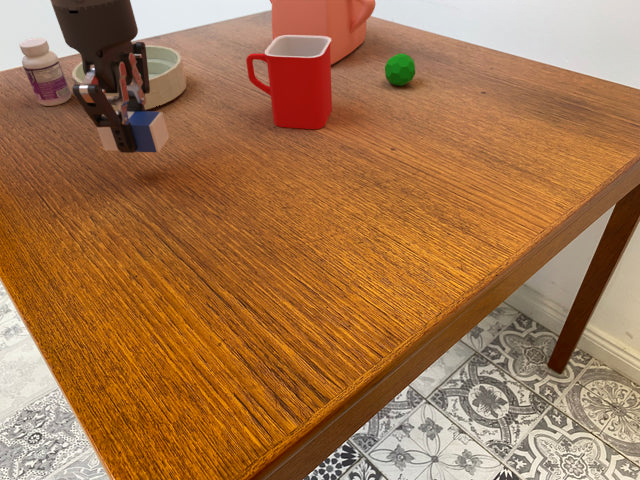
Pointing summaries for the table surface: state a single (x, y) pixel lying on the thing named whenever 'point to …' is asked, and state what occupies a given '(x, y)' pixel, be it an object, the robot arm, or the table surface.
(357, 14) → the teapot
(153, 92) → the bowl
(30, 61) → the pill bottle
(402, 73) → the polyhedron
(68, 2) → the robot arm
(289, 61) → the mug
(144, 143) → the eraser
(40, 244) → the table surface
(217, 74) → the table surface
